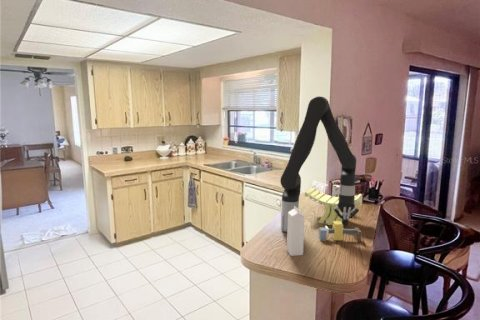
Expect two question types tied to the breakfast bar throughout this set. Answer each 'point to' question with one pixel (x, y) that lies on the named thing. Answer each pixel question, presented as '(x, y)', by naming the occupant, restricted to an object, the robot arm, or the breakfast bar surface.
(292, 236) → the milk
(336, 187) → the candy bar box
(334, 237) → the yellow sliding collar
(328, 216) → the slatted curved stool
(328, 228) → the pale beige end plate
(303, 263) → the breakfast bar surface
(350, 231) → the grey slider rail
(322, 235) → the block
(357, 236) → the tan flat end block
